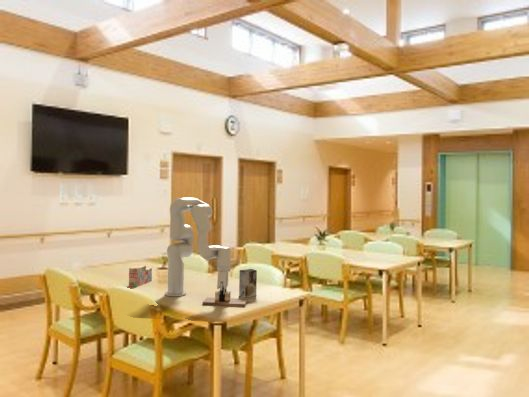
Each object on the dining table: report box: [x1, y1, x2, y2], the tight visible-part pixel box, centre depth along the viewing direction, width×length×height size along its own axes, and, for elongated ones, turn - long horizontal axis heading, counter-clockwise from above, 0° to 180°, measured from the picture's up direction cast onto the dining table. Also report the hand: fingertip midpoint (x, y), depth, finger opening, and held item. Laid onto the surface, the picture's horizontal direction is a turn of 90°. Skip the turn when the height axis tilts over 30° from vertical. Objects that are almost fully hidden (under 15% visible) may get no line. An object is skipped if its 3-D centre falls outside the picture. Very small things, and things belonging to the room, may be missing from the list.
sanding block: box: [214, 290, 232, 302], centre depth 268 cm, size 5×8×5 cm, turn 84°
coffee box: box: [238, 268, 258, 299], centre depth 288 cm, size 9×6×16 cm
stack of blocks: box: [128, 264, 153, 288], centre depth 317 cm, size 21×6×12 cm, turn 168°
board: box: [201, 296, 249, 308], centre depth 268 cm, size 12×24×2 cm, turn 84°
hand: (222, 299), depth 268 cm, fingers closed on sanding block, 5 cm apart
